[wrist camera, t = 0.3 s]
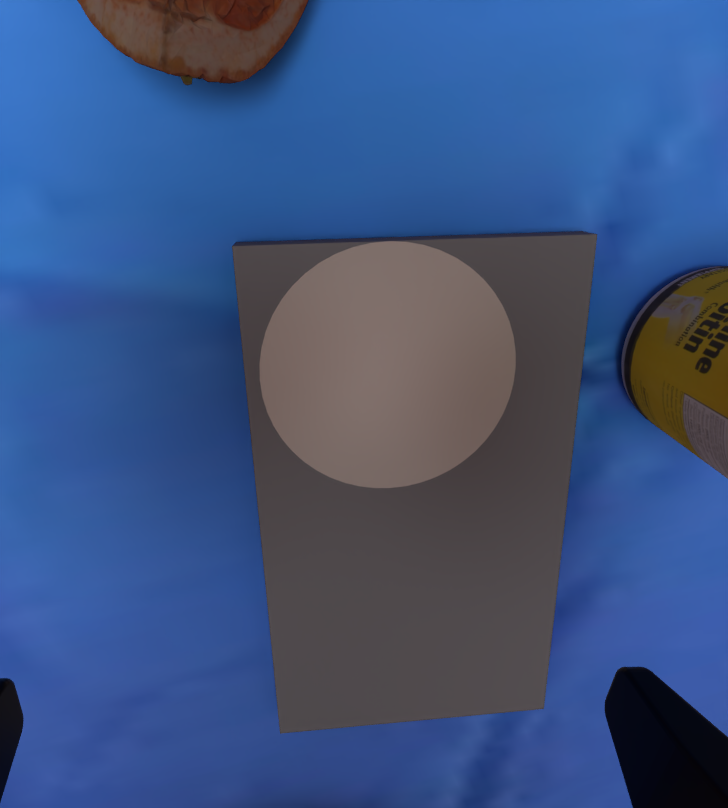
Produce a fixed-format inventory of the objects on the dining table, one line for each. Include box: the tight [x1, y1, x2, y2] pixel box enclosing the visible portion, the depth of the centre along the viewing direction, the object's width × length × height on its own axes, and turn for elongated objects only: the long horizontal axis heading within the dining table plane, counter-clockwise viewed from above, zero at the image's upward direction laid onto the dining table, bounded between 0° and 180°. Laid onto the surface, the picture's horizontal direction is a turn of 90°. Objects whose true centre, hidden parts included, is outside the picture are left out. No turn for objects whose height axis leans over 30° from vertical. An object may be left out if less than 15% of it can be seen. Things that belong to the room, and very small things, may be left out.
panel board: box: [232, 231, 597, 733], centre depth 24 cm, size 21×12×1 cm, turn 1°
